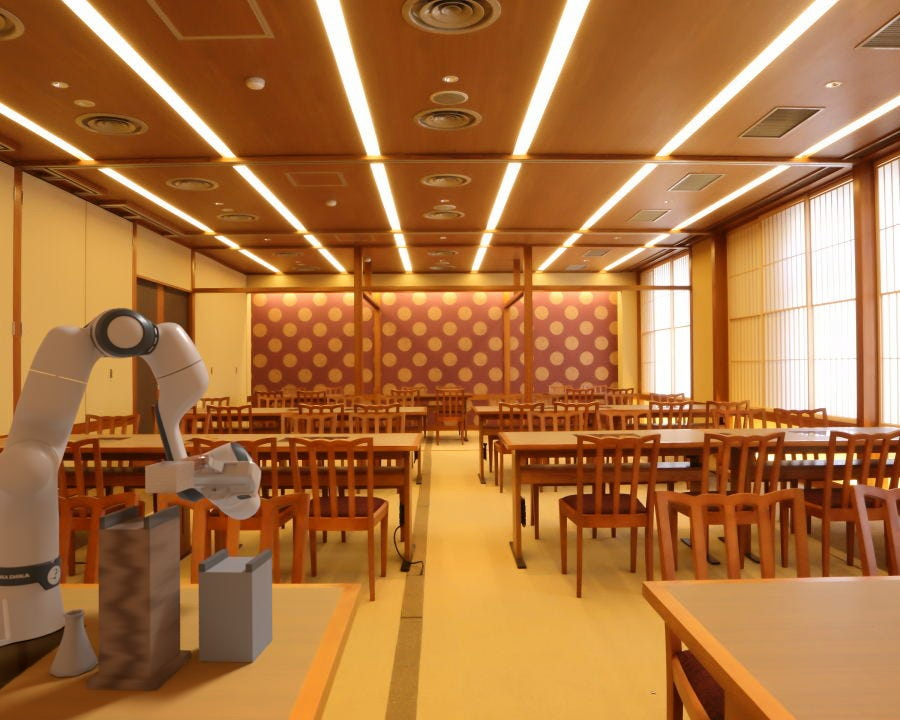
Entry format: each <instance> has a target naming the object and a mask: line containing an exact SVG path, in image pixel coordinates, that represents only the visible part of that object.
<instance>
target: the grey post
mask: <svg viewBox="0 0 900 720" xmlns="http://www.w3.org/2000/svg"><path fill="white" fill-rule="evenodd" d="M273 640H274V639H273V552H272V549H268V548H267V549H264V550H263V551H261V552H260V553H259V554H257V555H256V556H229V549H227V548H222V549H221V550H219V551H217V552H215V553H214V554H212V555H210V556H209V557H207V558H206V559H204V560H202V561H200V562H199V563H198V662H211V663H213V662H215V663H217V662H218V663H219V662H220V663H254V662H255V661H256V659H257V658H258V657H259V656H260V655H261V653H263V651H264V650H265V649H266V648H267V647H268V646H269V644H271V642H272V641H273Z"/></svg>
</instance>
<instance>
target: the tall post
mask: <svg viewBox="0 0 900 720" xmlns="http://www.w3.org/2000/svg"><path fill="white" fill-rule="evenodd" d="M98 517H99V518H98V661H99V662H98V670H97V671H96V672H95V673H93V674H92V675H90V676H89V677H88V678H86V681H85V686H86V687H85V688H86V690H88V689H89V690H91V689H92V690H93V689H94V690H122V691H123V690H125V691H126V690H128V691H129V690H132V691H157V690H158V689H159V688H160V687H162V686H163V685H164V684H165V683H166V682H167V681H168V680H169V679H170V678H171V677H172V676H174V675H175V674H176V673H177V672H178V671H179V670H180V669H181V668H183V667H184V666H185V665H186V664H187V663H188V662H189V661H190V660H192V650H190V649H187V650H186V649H181V553H180V552H181V527H180V526H181V523H180V522H181V521H180V519H181V518H180V505H172V506H169V507H167V508H164V509H162V510H159V511H156V512H153V513H151V514H149V515H146V516H139V505H131V506H128V507H125V508H121V509H119V510H115V511H113V512H111V513H108V514H104V515H101V516H98Z"/></svg>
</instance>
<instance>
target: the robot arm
mask: <svg viewBox="0 0 900 720" xmlns="http://www.w3.org/2000/svg"><path fill="white" fill-rule="evenodd" d="M133 357H140V358H142V359H143V360H144V361H145V362H146V364H148V366H149V368H150V369H151V372H152V374H153V376H154V378H155V380H156V382H157V386H158V391H159V393H158V399H157V401H155V403H154V406H153V407H154V417H155V421H156V425H157V429H158V433H159V437H160V440H161V443H162V447H163V451H164V453H165V457H166V461H176V460H179V459H183V458H187V457H189V456H188V454H187V451H186V447H185V445H184V444H185V443H184V441H183V437H182V432H181V430H180V422H181V421H182V418H183V417H184V416H185V414H187V413H188V411H190V410H191V409H192V408H193V407H195V405H197V403H198V402H199V401H200V400H202V398H203V397H204V396H205V394H206V392H207V391H208V388H209V385H210V376H209V372H208V370H207V367H206V364H205V362H204V359H203V358H202V356H201V354H200V352H199V351H198V349H197V347H196V345H195V343H194V342H193V340H192V339H191V337H190V336H189V334H188V333H187V332H186V331H185V330H184V328H183V327H182V326H181V325H179V324H178V323H175V322H162V323H158V324H156V323H154V322H152V321H151V320H150V319H148V318H147V317H145V316H144V315H143V314H141V313H140V312H139V311H136V310H133V309H132V308H127V307H118V308H117V307H116V308H110V309H107V310H104V311H102V312H101V313H99V314H98V315H97V316H95V317H93V319H92V320H91V321H89V322H88V323H87V324H86V325H85V326H83V327H77V326H73V325H59V326H55V327H53V328H51V329H50V330H49V331H48V332H47V333H46V335H45V337H44V338H43V340H42V341H41V343H40V345H39V347H38V349H37V351H36V352H35V355H34V357H33V359H32V361H31V364H30V367H29V370H28V372H27V375H26V379H25V380H24V383H23V385H22V386H23V387H22V389H21V392H20V395H19V396H18V397H19V398H18V401H17V404H16V406H15V411H14V414H13V418H12V422H11V425H10V428H9V431H8V434H7V438H6V441H5V443H4V447H3V448H2V449H3V450H2V451H1V452H0V647H4V646H6V645H9V644H12V643H17V642H22V641H27V640H32V639H36V638H40V637H43V636H46V635H49V634H52V633H55V632H56V631H58V630H60V629H62V628H63V627H64V628H65V618H64V617H63V614H65V613H66V611H65V607H64V602H63V596H62V590H61V577H62V556H61V555H60V538H59V537H60V516H59V482H58V481H59V480H58V478H59V477H58V476H59V470H60V465H61V464H62V460H63V457H64V455H65V454H64V453H65V451H66V448H67V445H68V442H69V440H70V436H71V433H72V430H73V427H74V425H75V421H76V419H77V415H78V412H79V410H80V406H81V403H82V400H83V398H84V395H85V392H86V388H87V387H88V382H89V380H90V375H91V373H92V370H93V369H94V366H95V365H96V364H97V362H98V361H99V360H100V359H102V358H111V359H116V360H117V359H121V360H122V359H126V358H133ZM201 455H209V457H204V458H203V462H202V464H203V466H204V467H206V468H203V469H199V470H196V471H194V487H192V488H189V489H186V490H183V491H181V492H178V493H176V495H177V497H179V499H181V500H183V501H188V502H192V503H197V502H198V501H201V500H202V499H204V498H206V499H207V500H208V501H210V502H211V503H212V504H213V505H214V506H216V507H218V508H219V509H220V511H221V512H223V513H224V514H225V515H226V516H229V517H230V518H232V519H234V520H239V521H240V520H243V521H244V520H246V519H249V518H251V517H252V516H254V515H255V514H256V513H257V512H258V510H259V509H260V506H261V497H260V495H259V488H260V485H261V479H262V470H261V469H260V468H259V465H258V464H257V463H255V462H254V460H253V458H252V456H251V455H250V453H249V452H248V451H247V449H246V448H245V446H243V445H241V444H239V443H237V442H235V441H230V442H228V443H224V444H223V445H219V446H218V447H215V448H213V449H212V450H209V451H207V452H203V453H202V454H201Z"/></svg>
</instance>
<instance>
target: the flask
mask: <svg viewBox="0 0 900 720" xmlns="http://www.w3.org/2000/svg"><path fill="white" fill-rule="evenodd" d="M84 614H85V615H86V610H85V609H79V608H78V609H71V610H68V611H65V614H63V617H64V618H65V626H64V629H63V634H62V638H61V641H60V644H59V646H58V649H57V651H56V654H55V656H54V659H53V662H52V664H51V667H50V669H49V671H48V674H49V675H53V676H54V677H58V678H62V677H76V676H78V675H81V674H83V673H86V672H89V671H91V670H93V669H94V667H96V666H97V664H99V658H97V654H96V653H95V651H94V647H92V645H91V641H90V639H89V637H88V634H87V633H86V629H85V624H84V623H85V622H84Z"/></svg>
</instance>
